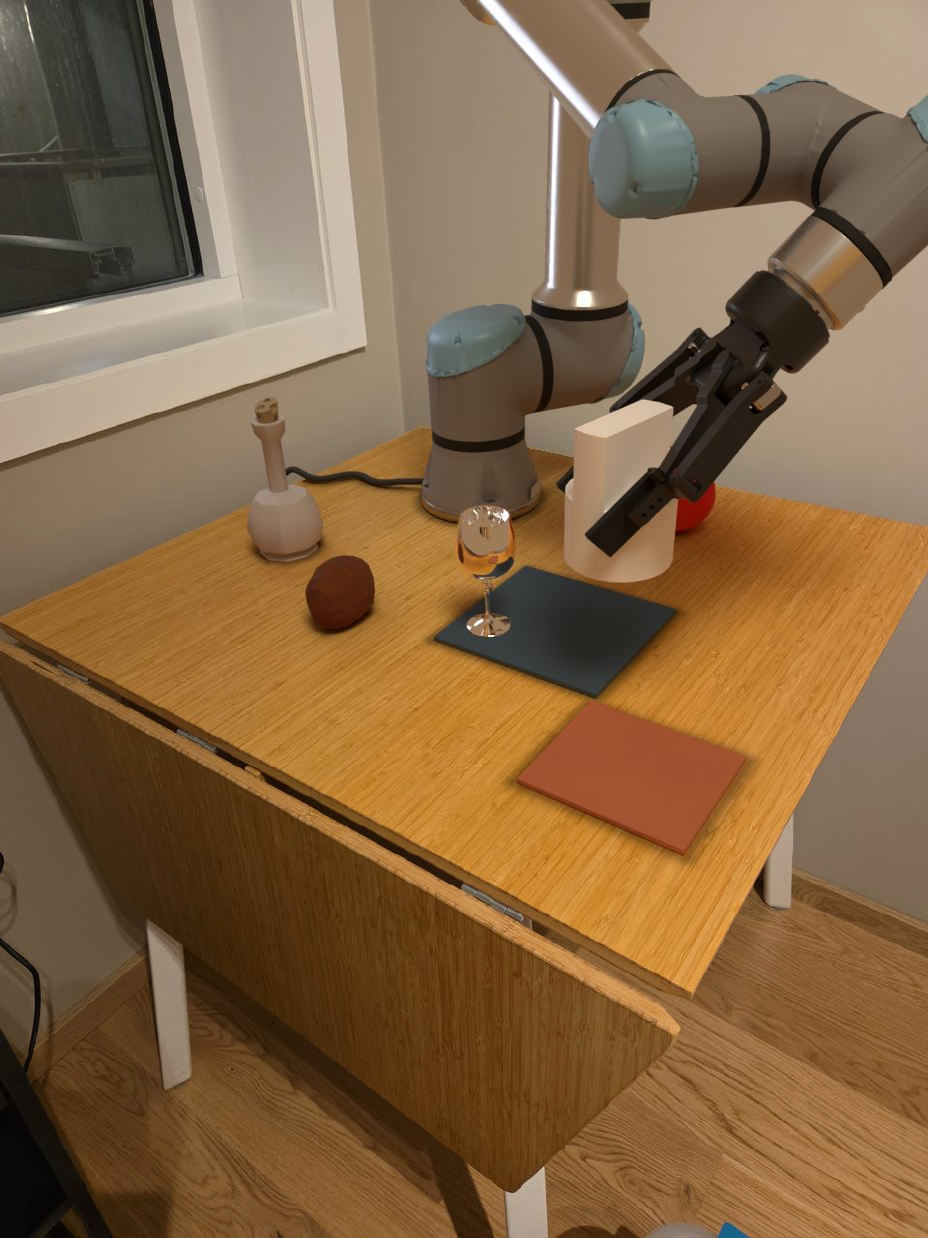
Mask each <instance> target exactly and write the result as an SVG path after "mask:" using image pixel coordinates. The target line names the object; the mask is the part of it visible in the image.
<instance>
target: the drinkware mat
mask: <svg viewBox="0 0 928 1238" xmlns="http://www.w3.org/2000/svg"><path fill="white" fill-rule="evenodd" d="M490 609H491V613H498V614H501V615H504V616H506V617H507V618H508V619H509V620H510V622H511V627H510V629H509V630H508V631H507V632H506V633H504V634H502V635H499V636H495V637H480V636H476V635H474V634H472V633H470V632H469V631H468V629H467V626H466V625H467V622H468V620H469V619H470V618H472V617H473V616H475V615H478V614H482V613H486V600H485V596H484V597H483V598H482V599H480V600H479V601H478V602H476V603H475V604H474V605H473V606H471V607H470V608H469V609H467V610H466V611H465V612H463V613H462V614H461V615H460V616H458V617H457V618H456V619H455V620H453V621H452V622H450V623H449V624H448V625H447V626H445V627H444V628H442V629H441V630H440V631H439V632H438V633H437V634H434V635H433V640H434V641H435V642H437V643H441V644H444V645H446V646H449V647H451V648H455V649H457V650H459V651H462V652H465V653H468V654H471V655H473V656H476V657H480V658H482V659H484V660H485V659H486V660H487V661H491V662H494V663H497V664H499V665H501V666H504V667H507V668H510V669H513V670H516V671H518V672H521V673H524V674H527V675H530V676H532V677H536V678H537V679H540V680H544V681H545V682H549V683H552V684H555V685H557V686H561V687H563V688H565V689H569V690H572V691H573V692H577V693H579V694H582V695H585V696H588V697H591V698H594V699H597V698H598V697H600V695H601V694H602V693H603V692H604V691H605V690H606V688H608V687H609V685H610V684H611V683H612V682H613V681H614V680H615V679H616V678H617V677H618V676H619V675H620V674H621V673H622V672H623V670H624V669H626V667H627V666H628V665H629V664H630V663H631V662H632V661H633V660H634V659H635V658H636V656H637V655H638V654H639V653H640V652H641V651H642V650H643V649H644V648H645V647H646V646H647V645H648V644H649V642H650V641H652V639H654V637H655V636H656V635H657V634H658V633H659V632H660V631H661V630H662V629H663V628H664V627H665V626H666V625H667V623H668V622H669V621H670V620H672V618H673V617H674V616H675V615H676V614H677V610H678V609H677V608H675V607H672V606H668V605H664V604H661V603H657V602H654V601H650V600H647V599H644V598H640V597H636V596H633V595H629V594H626V593H622V592H619V591H616V590H613V589H609V588H606V587H602V586H598V585H595V584H591V583H588V582H584V581H582V580H578V579H574V578H570V577H566V576H564V575H560V574H557V573H553V572H549V571H546V570H543V569H539V568H535V567H533V566H529V565H524V566H523V567H522V568H520V569H519V570H518V571H517V572H515V573H514V574H513V575H511V576H510V577H508V578H507V579H506V580H504V582H502V583H501V584H500V585H498V586H497V587H496V588H495V589H492V591H491V595H490Z"/></svg>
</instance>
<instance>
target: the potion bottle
mask: <svg viewBox="0 0 928 1238" xmlns="http://www.w3.org/2000/svg"><path fill="white" fill-rule="evenodd" d="M278 404H279V403H278V400H277V399H276V397H271V396H268V397H265V398H262V399H261V400H259V401H258V402H256V404H255V405H254V408H253V410H254V414H255V416H256V417H254V418H253V419H252V420H251V421H250V425H251V428H252V431H253V434H254V435H255V437H256V438H258V440H260V441H261V447H262V452H263V459H264V460H263V461H264V465H265V471H266V477H267V483H268V487H267V488H263V489H260V490H259V491H258V492H257V494H256V495H255V496H254V497H253V500H252V502H251V504H250V507H249V510H248V512H247V518H246V519H247V522H246V530H247V533H248V535H249V537H250V539H251V541H252V543H253V545H254V546H256V547H257V548H258V549H259V553H260V554H261V555H262V556H263V557H264V558H265V559H266V560H268V561H271V562H283V563H289V562H294V561H298V560H302V559H306V558H308V557H309V556H311V555H312V554H313V553H315V552H316V551H317V550H318V549H319V545H318V542H319V541H320V540H322V539H323V538H322V537H323V529H324V521H323V517H322V513H321V512H320V509H319V507H318V504H317V502H316V500H315V497H314V496H313V495H312V494H311V493H310V492H309V491H308V489H307V488H305V487H303V486H301V485H296V484H291V483H290V484H289V483H288V476H286V470H285V469H286V464H285V457H284V451H283V446H282V438H283V437H284V435H285V433H286V419H285V418H286V417H285V416H284V415H281V414H279V408H278V407H279V406H278Z"/></svg>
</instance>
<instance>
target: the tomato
mask: <svg viewBox="0 0 928 1238" xmlns="http://www.w3.org/2000/svg"><path fill="white" fill-rule="evenodd" d="M671 447H672V445H670V449H671ZM674 471H675V469H674V470H673V472H674ZM693 482H694V483H695V482H696V479H694V481H693ZM716 492H717V491H716V483H715V481H714V482H713V483H712V485H711V486H710V487H709V488H708V490H707V491H706V492H705V493H704V494H703V496H702V497H701V498H700V499H699V500H698V501H697V502H695V503H690V502H689V501H688V500H687V499H685V498H680V499H678V505H677V516H676V527H675V532H683V531H688V530H690V529H693V528H694V527H697V526H698V525H699V524H701V523H702V522H703V521H704V520H705V519H706V518H708V516H709V514H710V513H711V512H712V510H713V508H714V505H715V502H716V498H717V496H716V495H717V494H716Z"/></svg>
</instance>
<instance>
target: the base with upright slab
mask: <svg viewBox="0 0 928 1238" xmlns="http://www.w3.org/2000/svg"><path fill="white" fill-rule="evenodd" d="M673 418H674V417H673V407H672V406H669V405H666V404H663V403H660V402H654V401H649V400H640V401H638V402H635V403H633V404H631V405H628V406H626V407H624V408H621V409H619V410H617V411H614V412H612V413H610V412H609V413H608V414H605V415H603V416H599V417H598V418H596V419H594V420H591V421H589V422H586V423H584V424H582V425H580V426H577V427H575V428H574V436H573V437H574V438H573V465H574V478H573V479H571V480H570V481H569V482H568V484H567V485H566V488H565V493H564V529H563V530H564V534H563V535H564V537H563V558H564V561H565V563H566V565H567V566H568V567H569V568H570V569H571V570H572V571H574V572H576V573H578V574H579V575H582V576H584V577H587V578H590V579H593V580H596V581H602V582H609V583H633V582H641V581H642V582H643V581H646V580H649V579H653V578H655V577H657V576H659V575H661V574H664V573H665V571H667V570H668V569H669V568H670V567H671V565H672V563H673V558H674V547H675V538H676V537H675V536H676V531H675V527H676V516H677V505H678V499H675V498H674V499H672V500H671V501H670V502H669V503H668V504H667V505H666V506H665V507H664V508H663V509H661V510H660V511H659V512H658V513H657V514H656V515H655V516H654V517H653V518H652V519H651V520H650V521H649V522H648V523H647V524H646V525H644V526H643V527H642V528H640V529H639V530H638V531H637V532H636V533H635V534H634V535H633V536H632V537H631V538H630V539H629V540H628V541H627V542H626V543H625V544H624V545H623V546H622V547H621V548H620V549H619V550H618V551H617V552H616V553H615V554H614V555H613V556H612V557H611V558H610V557H609V556H608V555H606V554H605V553H604V552H603V551H602V550H600V549H599V548H598V547H597V546H596V545H594V544H593V543H592V542H591V541H590V540H588V539H587V538H586V536H585V533H586V532H587V531H588V530H589V529H590V528H591V527H592V526H593V525H594V524H595V523H596V522H597V521H598V520H599V519H600V518H601V517H602V516H603V515H604V514H605V513H606V512H607V511H608V510H609V509H610V508H611V507H612V506H613V505H614V504H615V503H616V502H617V501H618V500H619V499H620V498H621V497H622V496H623V495H624V494H625V493H626V492H627V491H628V490H629V489H630V488H631V487H632V486H633V485H634V484H635V483H636V482H637V481H638V480H639V479H640V478H641V477H642V476H643V475H644V474H645V473H646V472H647V470H648V468H649V467H650V468H651V467H656V468H659V466H660V465H661V463H662V461H663V460H664V458H665V457H666V455H667V453H668V452H669V450H670V446H671V443H672V442H671V441H672V431H673Z"/></svg>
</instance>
